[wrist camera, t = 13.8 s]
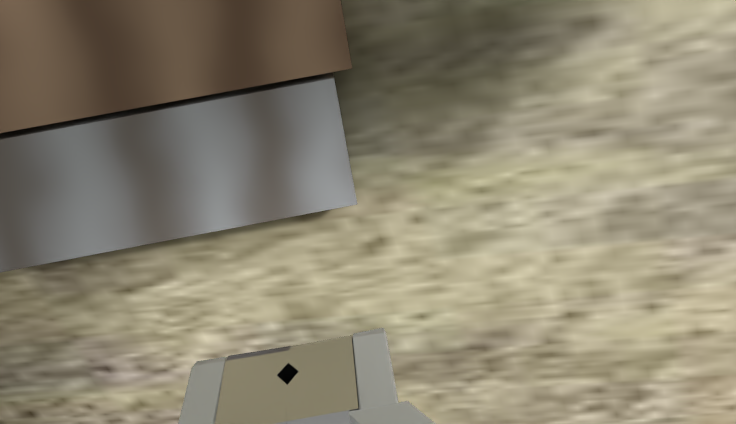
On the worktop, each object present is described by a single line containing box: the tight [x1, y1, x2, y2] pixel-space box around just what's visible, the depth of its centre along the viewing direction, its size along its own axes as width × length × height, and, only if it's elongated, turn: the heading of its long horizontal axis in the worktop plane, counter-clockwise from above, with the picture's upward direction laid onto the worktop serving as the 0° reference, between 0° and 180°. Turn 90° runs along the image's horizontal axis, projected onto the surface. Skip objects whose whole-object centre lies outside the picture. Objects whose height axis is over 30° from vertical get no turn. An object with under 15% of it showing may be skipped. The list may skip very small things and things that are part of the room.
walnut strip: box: [0, 0, 352, 133], centre depth 31 cm, size 22×6×2 cm, turn 99°
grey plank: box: [0, 72, 357, 272], centre depth 33 cm, size 20×7×2 cm, turn 99°
